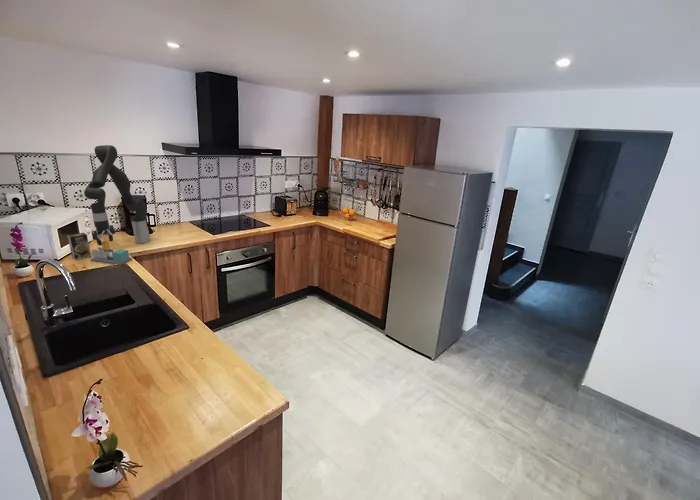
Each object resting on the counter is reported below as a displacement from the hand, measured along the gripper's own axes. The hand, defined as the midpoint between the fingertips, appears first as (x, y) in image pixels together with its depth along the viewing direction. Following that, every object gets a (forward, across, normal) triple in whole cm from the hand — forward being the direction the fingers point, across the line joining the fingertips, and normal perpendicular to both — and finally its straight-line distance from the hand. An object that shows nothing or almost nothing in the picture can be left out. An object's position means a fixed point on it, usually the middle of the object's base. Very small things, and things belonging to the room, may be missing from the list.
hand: (105, 243), depth 223 cm
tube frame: (+12, 0, +2) cm, 12 cm away
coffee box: (+12, +2, -19) cm, 23 cm away
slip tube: (+9, 0, +5) cm, 10 cm away
